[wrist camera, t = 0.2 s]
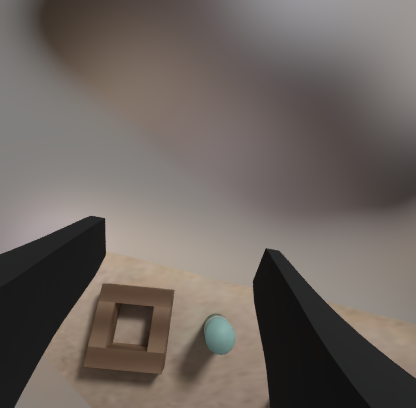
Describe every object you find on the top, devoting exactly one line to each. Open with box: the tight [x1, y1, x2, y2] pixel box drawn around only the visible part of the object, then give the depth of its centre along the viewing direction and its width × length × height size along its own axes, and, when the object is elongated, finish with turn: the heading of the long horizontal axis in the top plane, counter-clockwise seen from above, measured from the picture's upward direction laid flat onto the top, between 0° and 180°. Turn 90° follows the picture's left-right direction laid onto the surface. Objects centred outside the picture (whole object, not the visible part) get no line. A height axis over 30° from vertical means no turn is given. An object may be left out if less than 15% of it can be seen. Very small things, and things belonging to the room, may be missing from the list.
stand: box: [83, 284, 174, 374], centre depth 35 cm, size 11×11×3 cm
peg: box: [204, 314, 235, 355], centre depth 33 cm, size 4×4×7 cm
